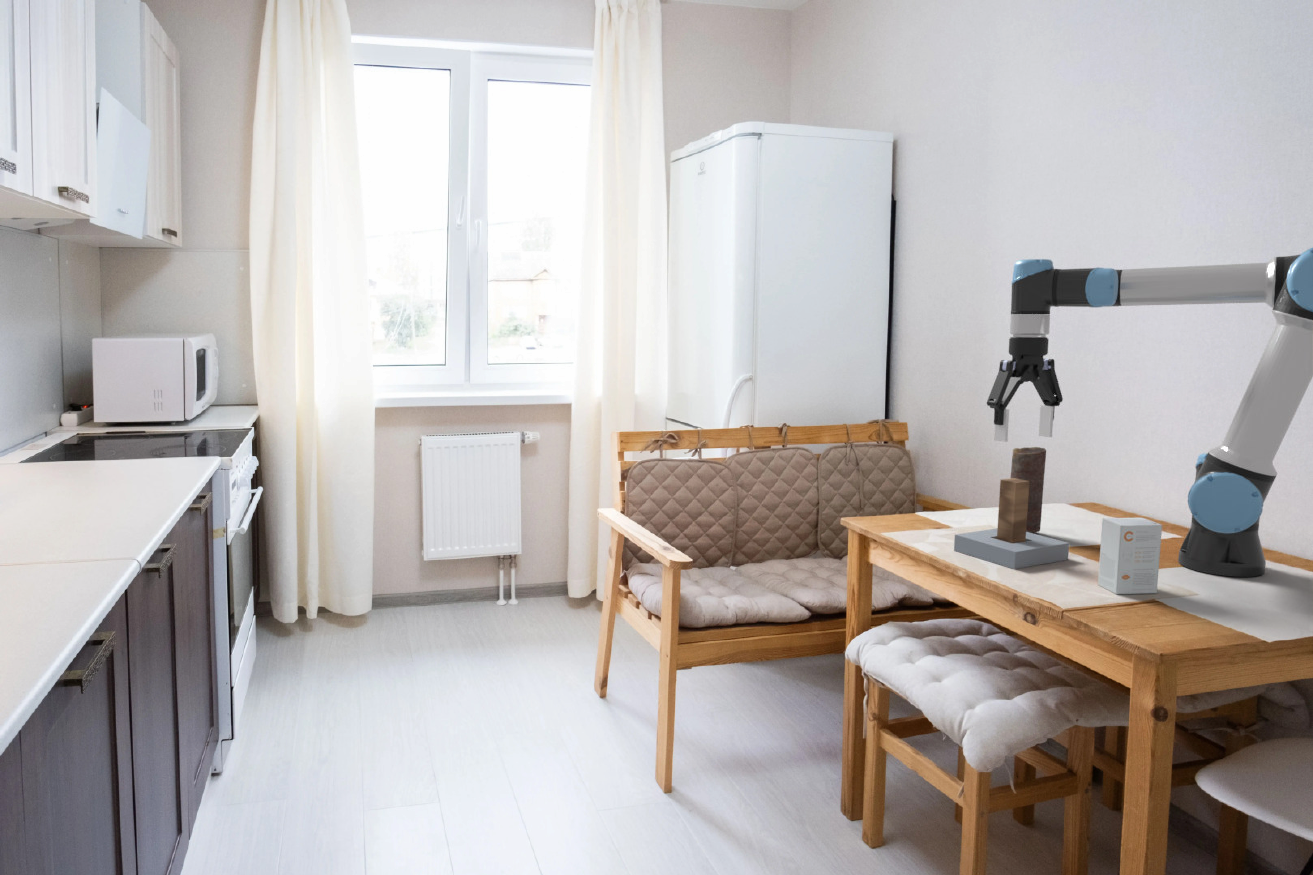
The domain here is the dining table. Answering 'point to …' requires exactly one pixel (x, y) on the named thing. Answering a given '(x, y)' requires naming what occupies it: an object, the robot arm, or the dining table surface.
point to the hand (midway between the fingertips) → (1023, 438)
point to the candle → (1031, 481)
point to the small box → (1129, 555)
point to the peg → (1013, 510)
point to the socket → (1011, 549)
